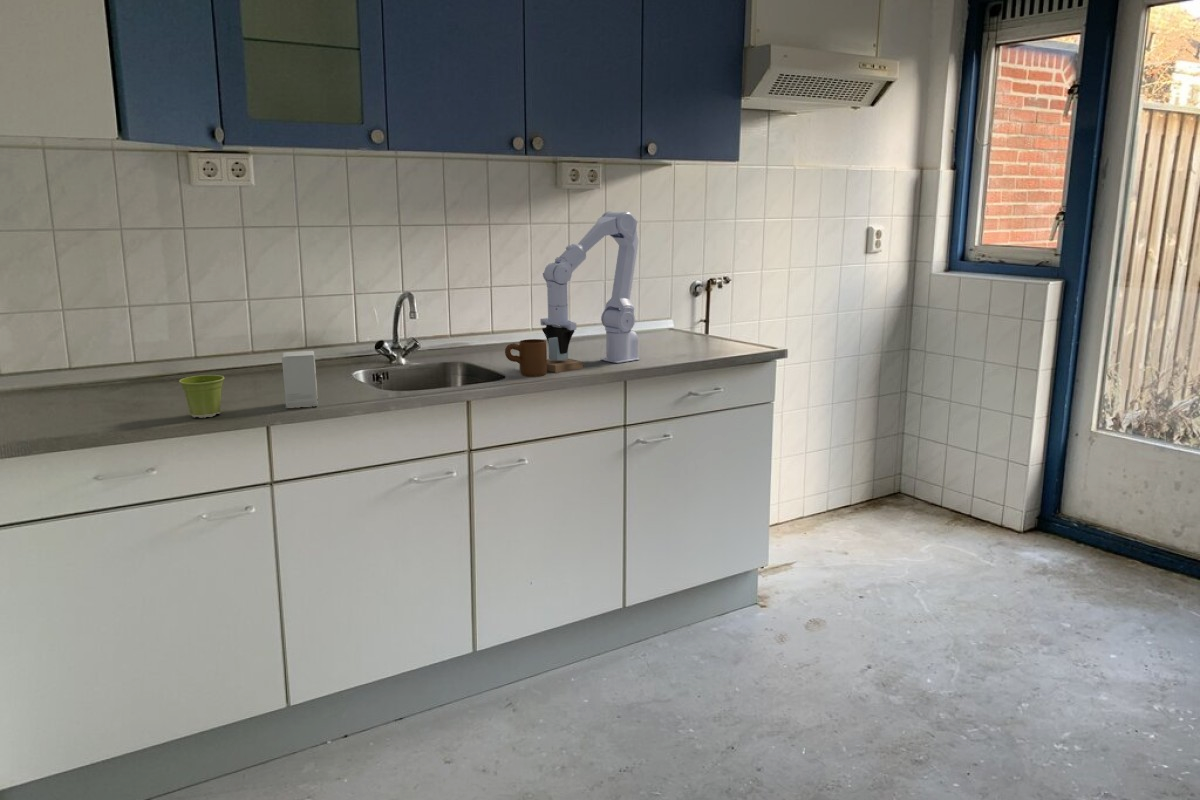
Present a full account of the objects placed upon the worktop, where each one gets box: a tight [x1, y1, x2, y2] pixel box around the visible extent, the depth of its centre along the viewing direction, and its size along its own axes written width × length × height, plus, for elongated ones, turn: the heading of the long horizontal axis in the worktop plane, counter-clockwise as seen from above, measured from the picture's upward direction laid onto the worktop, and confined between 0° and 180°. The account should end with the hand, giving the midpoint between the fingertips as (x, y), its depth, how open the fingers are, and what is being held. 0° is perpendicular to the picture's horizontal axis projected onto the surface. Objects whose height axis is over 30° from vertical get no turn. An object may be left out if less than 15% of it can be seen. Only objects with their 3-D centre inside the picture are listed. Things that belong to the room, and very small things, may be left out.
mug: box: [504, 338, 548, 377], centre depth 248 cm, size 12×8×9 cm, turn 116°
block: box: [547, 337, 569, 361], centre depth 258 cm, size 4×4×6 cm
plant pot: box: [178, 374, 225, 415], centre depth 204 cm, size 9×9×9 cm
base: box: [547, 358, 584, 374], centre depth 259 cm, size 10×10×2 cm
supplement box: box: [281, 350, 318, 407], centre depth 213 cm, size 7×7×13 cm
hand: (558, 352), depth 258 cm, fingers closed on block, 4 cm apart
